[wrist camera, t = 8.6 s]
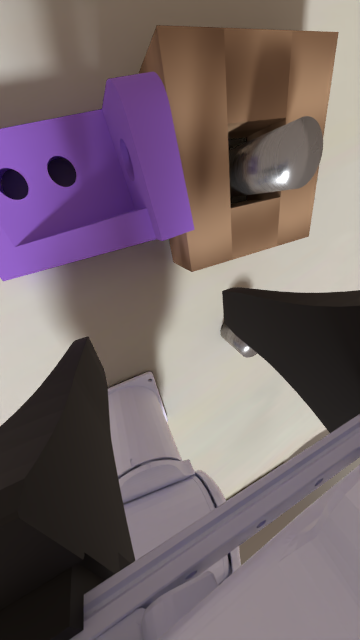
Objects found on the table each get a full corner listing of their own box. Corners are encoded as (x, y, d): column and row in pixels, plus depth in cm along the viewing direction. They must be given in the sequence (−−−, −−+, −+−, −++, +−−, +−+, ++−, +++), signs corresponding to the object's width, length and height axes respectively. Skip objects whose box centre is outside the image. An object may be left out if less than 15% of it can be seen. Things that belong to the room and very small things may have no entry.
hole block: (275, 233, 22) (308, 236, 19) (173, 262, 19) (191, 271, 16) (286, 70, 16) (338, 32, 13) (138, 74, 13) (157, 25, 10)
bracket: (128, 118, 14) (158, 51, 8) (159, 225, 17) (194, 229, 12) (-75, 161, 11) (-232, 107, 6) (10, 275, 15) (-35, 311, 9)
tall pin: (240, 194, 19) (317, 184, 13) (210, 201, 18) (277, 193, 12) (240, 150, 17) (328, 113, 11) (206, 155, 16) (281, 118, 10)
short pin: (242, 334, 27) (264, 350, 24) (221, 343, 26) (241, 361, 23) (242, 313, 25) (265, 328, 22) (219, 322, 24) (240, 338, 21)
